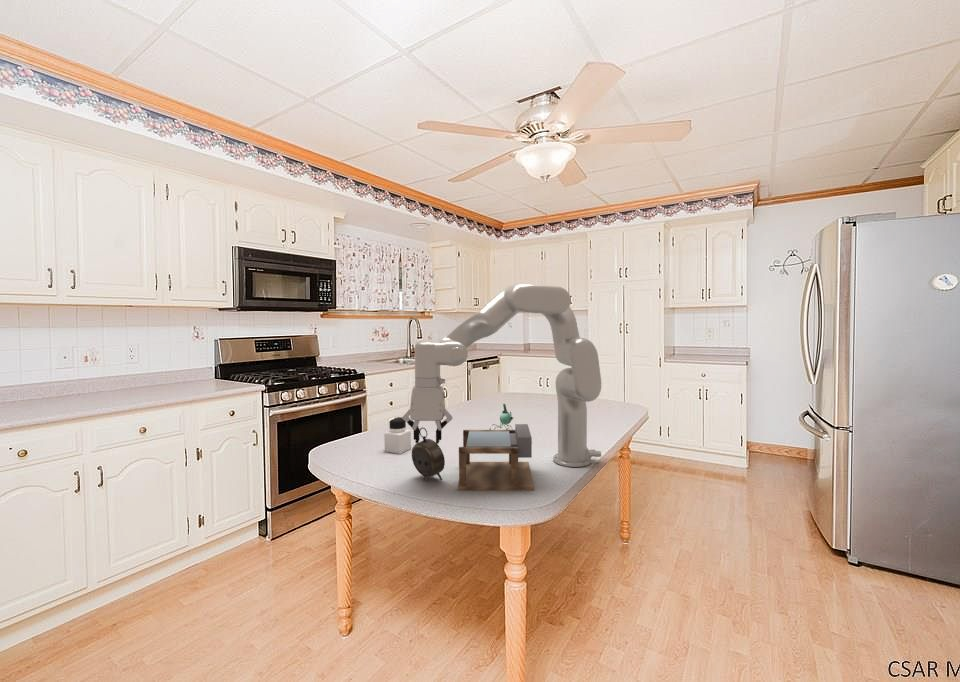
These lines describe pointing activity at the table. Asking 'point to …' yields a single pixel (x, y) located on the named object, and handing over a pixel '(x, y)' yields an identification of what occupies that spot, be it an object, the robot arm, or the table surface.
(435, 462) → the alarm clock
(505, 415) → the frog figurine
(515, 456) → the frame
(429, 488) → the table surface
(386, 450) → the medicine bottle
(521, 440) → the trapdoor
